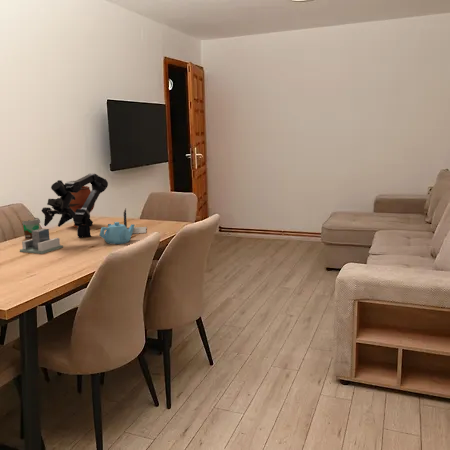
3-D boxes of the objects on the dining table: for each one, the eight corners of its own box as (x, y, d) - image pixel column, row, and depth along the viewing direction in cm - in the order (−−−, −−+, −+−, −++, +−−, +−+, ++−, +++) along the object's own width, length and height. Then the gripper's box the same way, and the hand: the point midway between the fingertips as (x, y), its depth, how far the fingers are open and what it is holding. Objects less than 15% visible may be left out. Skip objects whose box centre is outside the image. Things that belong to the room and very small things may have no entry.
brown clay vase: (58, 228, 295) (55, 188, 290) (74, 223, 313) (72, 185, 309) (86, 229, 291) (84, 189, 286) (101, 224, 309) (99, 185, 305)
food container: (33, 239, 265) (31, 221, 264) (23, 238, 267) (21, 221, 265) (45, 234, 277) (44, 217, 275) (36, 234, 279) (34, 217, 277)
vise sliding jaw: (37, 243, 249) (37, 236, 249) (44, 244, 248) (44, 236, 247) (18, 248, 238) (18, 241, 237) (25, 249, 236) (25, 241, 235)
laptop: (146, 233, 278) (145, 211, 276) (124, 234, 276) (123, 212, 274) (146, 228, 296) (145, 207, 293) (126, 228, 294) (125, 207, 292)
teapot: (109, 238, 265) (108, 219, 264) (135, 239, 263) (134, 219, 261) (98, 244, 251) (97, 224, 249) (126, 245, 248) (125, 224, 246)
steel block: (50, 246, 243) (48, 229, 241) (40, 249, 236) (38, 231, 235) (43, 245, 244) (41, 228, 243) (33, 248, 238) (31, 231, 236)
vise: (41, 245, 250) (40, 235, 249) (63, 247, 245) (62, 237, 244) (19, 251, 236) (18, 241, 235) (41, 253, 231) (41, 243, 230)
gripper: (41, 192, 251) (28, 216, 244) (69, 192, 244) (56, 217, 236) (54, 204, 260) (41, 228, 252) (81, 205, 252) (69, 229, 245)
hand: (51, 225), depth 246 cm, fingers open, 9 cm apart
